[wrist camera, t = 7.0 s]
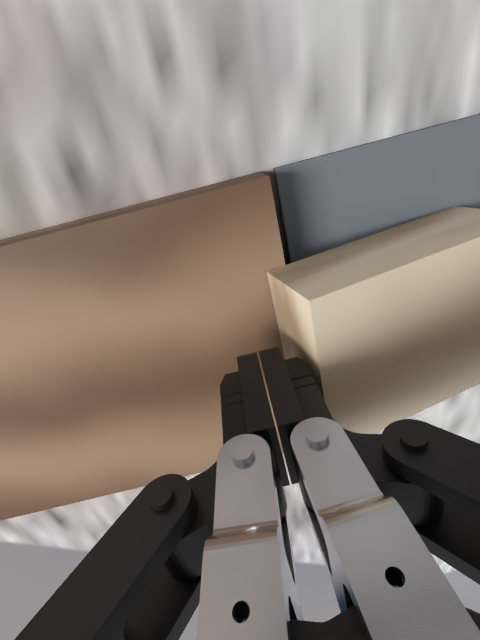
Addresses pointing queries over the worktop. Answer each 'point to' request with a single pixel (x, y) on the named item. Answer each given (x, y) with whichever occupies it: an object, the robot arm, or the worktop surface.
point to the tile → (387, 318)
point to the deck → (130, 340)
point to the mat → (378, 186)
